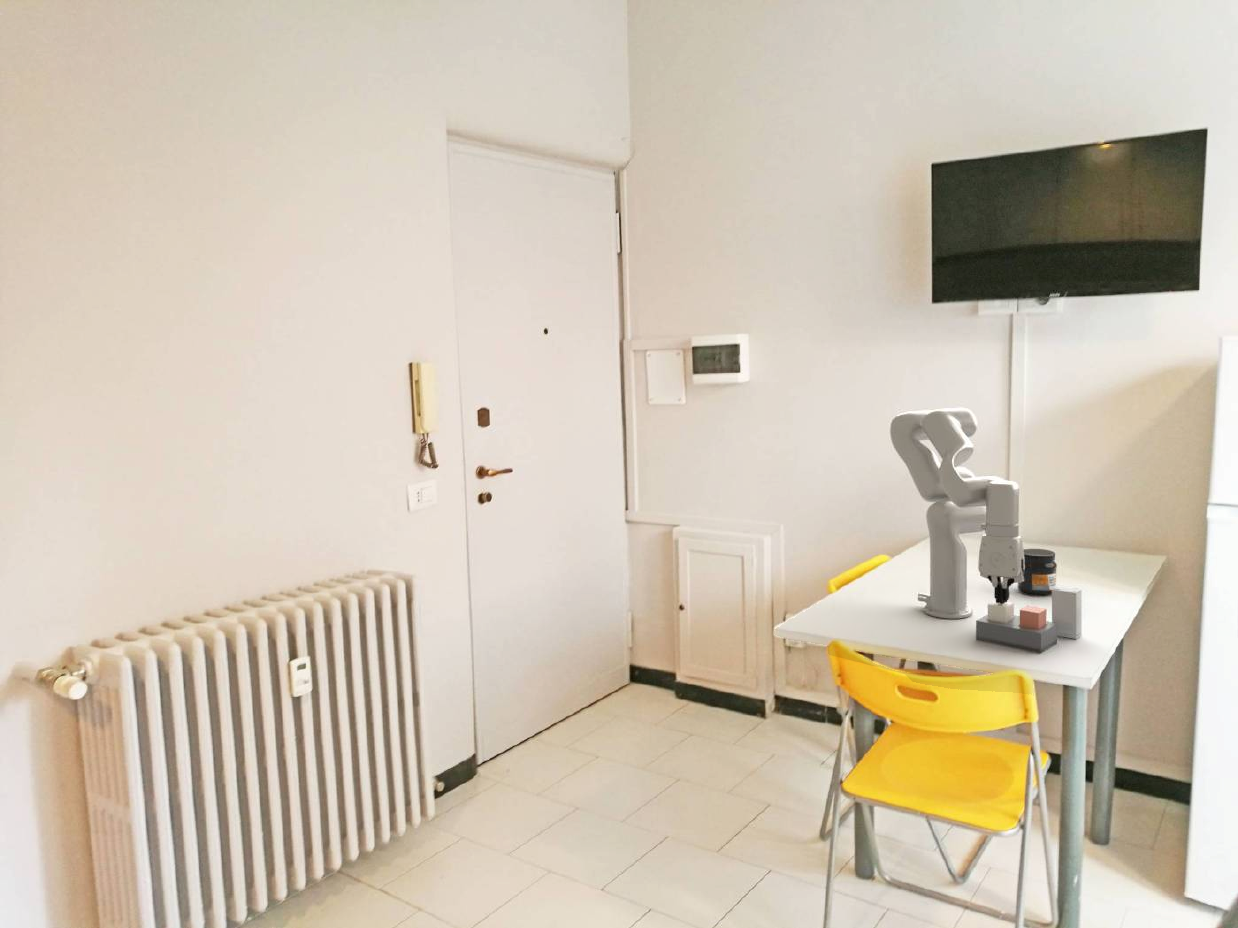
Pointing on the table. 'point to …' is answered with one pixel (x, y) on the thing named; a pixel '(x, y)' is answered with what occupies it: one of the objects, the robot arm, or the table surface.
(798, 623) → the table surface
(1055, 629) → the key housing
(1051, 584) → the supplement container
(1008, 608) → the ivory key
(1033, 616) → the brick key
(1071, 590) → the skincare box
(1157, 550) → the table surface
